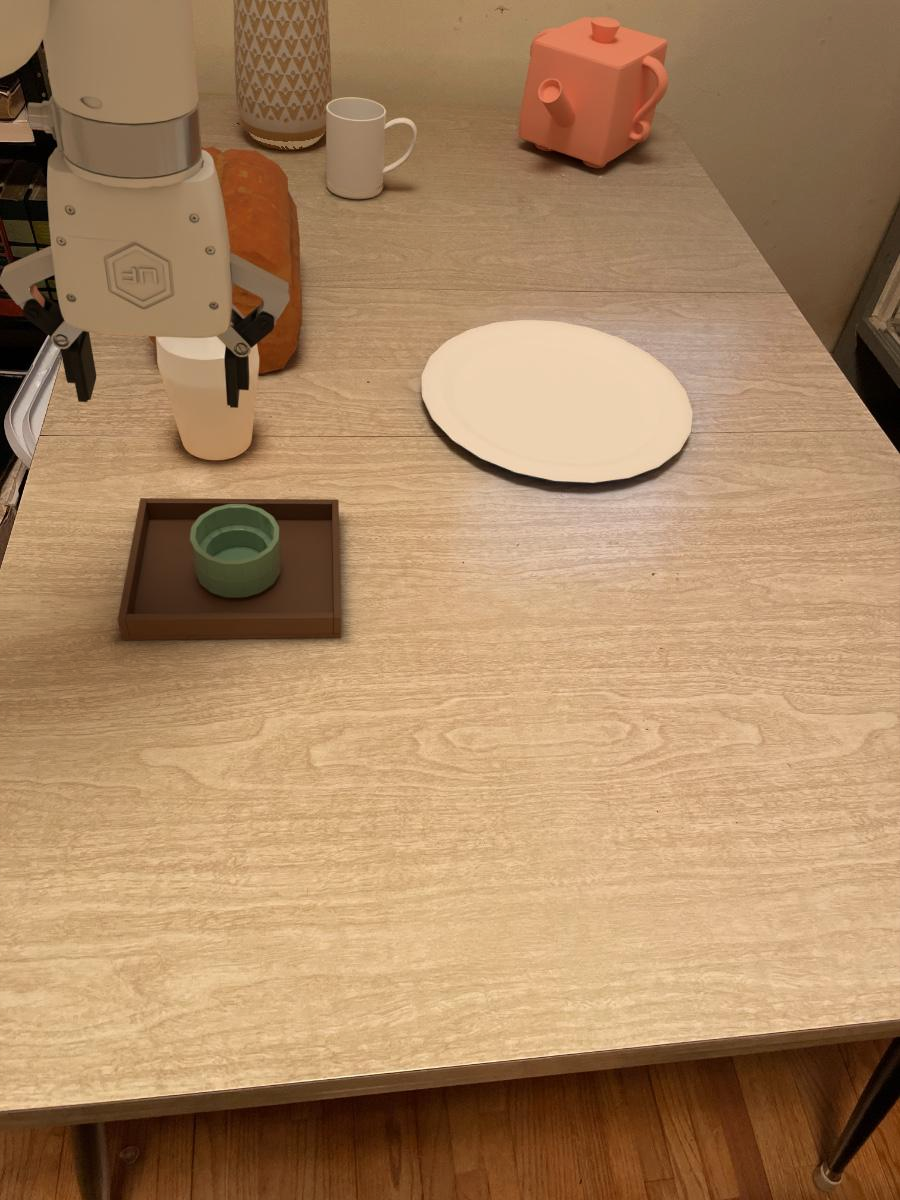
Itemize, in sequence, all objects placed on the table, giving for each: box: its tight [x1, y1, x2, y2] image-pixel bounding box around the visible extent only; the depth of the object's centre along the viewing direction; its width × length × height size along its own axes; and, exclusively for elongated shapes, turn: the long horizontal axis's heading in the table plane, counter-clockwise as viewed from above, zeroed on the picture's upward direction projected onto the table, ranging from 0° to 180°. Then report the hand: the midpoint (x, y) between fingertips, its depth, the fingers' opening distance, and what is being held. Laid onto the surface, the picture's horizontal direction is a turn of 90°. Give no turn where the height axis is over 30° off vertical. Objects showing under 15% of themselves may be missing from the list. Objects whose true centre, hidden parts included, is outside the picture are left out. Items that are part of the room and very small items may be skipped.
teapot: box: [518, 16, 669, 169], centre depth 143 cm, size 25×23×18 cm
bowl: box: [190, 504, 281, 598], centre depth 80 cm, size 7×7×4 cm
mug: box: [325, 96, 418, 200], centre depth 131 cm, size 12×8×10 cm, turn 88°
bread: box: [148, 146, 303, 374], centre depth 105 cm, size 16×27×16 cm, turn 7°
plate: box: [420, 319, 694, 485], centre depth 103 cm, size 29×29×2 cm
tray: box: [117, 497, 342, 641], centre depth 81 cm, size 17×14×2 cm
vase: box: [232, 0, 333, 151], centre depth 133 cm, size 14×14×31 cm
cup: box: [156, 336, 259, 461], centre depth 90 cm, size 9×9×12 cm
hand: (161, 393), depth 65 cm, fingers open, 9 cm apart
